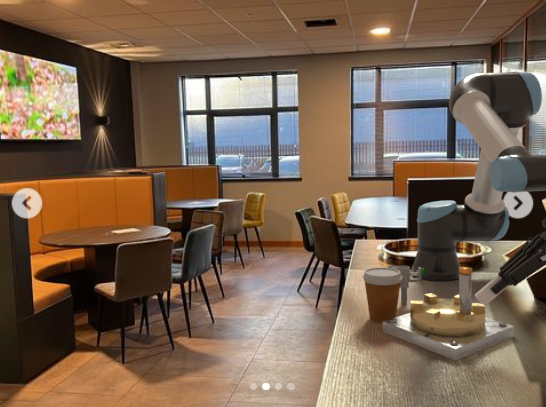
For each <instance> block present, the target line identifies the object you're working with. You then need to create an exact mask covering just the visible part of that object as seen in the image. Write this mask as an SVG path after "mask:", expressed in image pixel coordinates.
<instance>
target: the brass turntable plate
mask: <svg viewBox="0 0 546 407" xmlns="http://www.w3.org/2000/svg"><path fill="white" fill-rule="evenodd" d="M472 274H473V268H472V267H470V266H460V268H459V282H458V283H459V288H458V290H459V291H458V292H459V293H458V294H457V295H456V294H455V295H454V296H453V298H442V297H441V298H438V295H436V294H435V293H432V292H431V293H424V294H423V299H422V300H412V299H411V300H410V308H409V309H410V312H409V313H410V322H411V323H412V325H413V326H415V327H416V328H418V329H420V330H423V331H426V332H429V333H434V334H439V335H449V336H463V335H471V334H476V333H479V332H481V331H482V330H484V328H485V317H486V306H484V305H483V304H482V303H481V302H477V303H476V302H472V281H473V280H472Z"/></svg>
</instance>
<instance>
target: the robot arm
mask: <svg viewBox="0 0 546 407" xmlns="http://www.w3.org/2000/svg"><path fill="white" fill-rule="evenodd" d="M540 84H541V83H540V81H539V79H538V77H537V76H536V75H534V74H533V73H532V72H529V71H527V72H526V71H525V72H524V71H508V72H507V71H506V72H505V71H504V72H485V73H484V72H478V73H473V74H470V75H467V76H466V77H464V78H462V79H461V80H460V81H459V82H458V83H457V84H455V86H454V87H453V89H452V91H451V93H450V95H449V100H448V106H449V111H450V114H451V116H452V117H453V118H454V120H455V122H457V123H459V124H460V125H463V126H464V127H465V128H466V130H467V131H468V133H469V134H470V135H471V136H472V138H473V139H474V141H475V142H476V144H477V145H478V146H479V148H480V152H479V156H478V163H477V167H476V172H475V176H474V180H473V186H472V191H471V193H469V194H468V195H466V196H465V198H464V203H463V204H457V202H456V201H455V200H447V199H446V200H439V201H438V200H437V201H431V202H426V203H424V204H422V205H419V207H418V209H417V218H416V222H417V251H416V255H415V258H414V260H413V261H414V262H413V264H412V265H411V266H412V267H411V272H416V270H418V267H421V268H424V274H421V280H424V281H425V280H426V281H433V282H434V281H435V282H439V281H440V282H446V281H447V282H448V281H455V280H458V279H459V268H460V267H461V264H460V261H459V260H460V259H459V257H458V255H457V243H465V242H492V241H499V240H500V239H502V238H503V237H504V236H505V235H506V234H507V232H508V229H509V227H510V220H509V218H510V212H509V209H508V208H507V206H506V203H505V202H504V200H503V199H502V197H503V193H504V192H505V193H507V192H508V193H509V192H510V193H512V194H513V193H523V192H541V191H545V192H546V154H541V155H540V154H536V155H535V154H531V152H530V151H529V150H528V149H527V148H526V147H525V146H524V144H522V142H521V141H520V139H518V134H519V130H520V129H522V128H524V127H525V126H526V125H527V122H528V119H529V117H530V116H531V117H532V116H535V115H537V114H538V112H539V111H540V110H541V107H542V102H543V93H542V87H541V85H540ZM541 225H542V226H543V228H545V229H546V217H545V218H544V219H542V220H541ZM544 266H546V230H545V231H543V232H542V233H540V234H536V235H535V236H534V237H532V236H530V237H528V238H527V240H526V241H525V242H524V243H523V244H522V246H521V247H520V248H519V249H518V250H516V251H515V252H514V253H513V254H512V255H511V257H510V258H508V259H507V261H505V262H504V263H503V265H501V266H500V268H499V272H498V273H497V275H495V277H493V278H492V279H491V280H490V281H489V282H488V283H487V284H485V285H483V287H482V288H481V289H479V290H478V291H477V292H476V293H475V294H474V297H475V298H476V299H477V300H478V301H479V303H481V304H483V305H484V306H485V307H486V306H487V305H488V304H489V303H491V301H493V300H494V299H495V298H497V297H498V296H499V295H500V294H502V292H503V291H504V290H506V289H507V288H509V287H510V286H513V287H516V286H517V285H518V284H520V283H521V282H523V281H524V280H526V279H527V278H529V277H530V276H531V275H533V274H535V273H536V272H537V271H538V270H540V269H541V268H543V267H544ZM414 277H415V278H418V277H419V276H414Z"/></svg>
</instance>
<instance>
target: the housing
mask: <svg viewBox="0 0 546 407" xmlns="http://www.w3.org/2000/svg"><path fill="white" fill-rule="evenodd" d="M382 332H383V333H384V334H388V335H389V336H390V335H391V336H393V337H395V338H397V339H399V340H403V341H406V342H408V343H410V344H413V345H415V346H418V347H420V348H423V349H425V350H428V351H430V352H432V353H436V354H438V355H440V356H443V357H445V358H448V359H451V360H452V361H455V362H456V361H458V360H461V359H463V358H466V357H468V356H471V355H473V354H477V353H479V352H481V351H483V350H486V349H488V348H490V347H492V346H495V345H498V344H500V343H502V342H505V341H507V340H509V339H513V338H515V326H514V325H512V324H509V323H505V322H502V321H498V320H495V319H492V318H490V317H486V316H485V328H484V330H482V331H481V332H479V333H476V334H471V335H463V336H449V335H439V334H434V333H429V332H426V331H423V330H420V329H418V328H416V327H415V326H413V325H412V323H411V322H410V312H409V313H404V314H402V315H399V316H396V317H395V318H392V319H389V320H385V321H383V323H382Z"/></svg>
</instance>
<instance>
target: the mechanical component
mask: <svg viewBox="0 0 546 407" xmlns="http://www.w3.org/2000/svg"><path fill="white" fill-rule="evenodd" d="M384 268H393V269H397V270H399V271H400V273H401V276H402V280H401V282H400V292H401V294H400V302H401V305H407V304H408V289H409V288H410V285H409V284H410V283H419V282H421V280H422V279H421V274H424V268H421V267H418V270H416V272H412V269H411V270H410V266H408V265H387V266H386V267H384ZM415 276H419V277H418V278H417V277H415ZM412 277H415V278H412Z"/></svg>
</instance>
